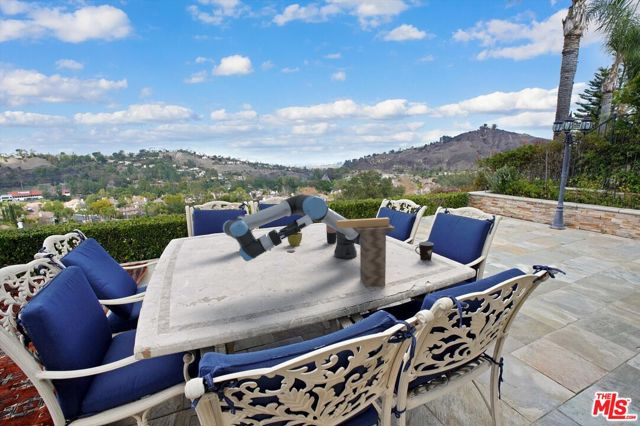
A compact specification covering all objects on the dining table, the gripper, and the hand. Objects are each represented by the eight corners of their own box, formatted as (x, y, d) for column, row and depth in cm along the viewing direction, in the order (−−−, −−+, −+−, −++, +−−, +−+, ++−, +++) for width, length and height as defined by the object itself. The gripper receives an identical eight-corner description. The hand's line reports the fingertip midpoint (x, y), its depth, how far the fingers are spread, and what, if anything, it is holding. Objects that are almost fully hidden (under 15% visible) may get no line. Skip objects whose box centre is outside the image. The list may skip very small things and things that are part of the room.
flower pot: (303, 244, 220) (302, 232, 218) (297, 247, 212) (296, 235, 210) (293, 243, 223) (292, 231, 222) (287, 246, 215) (286, 234, 214)
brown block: (337, 228, 138) (337, 221, 137) (336, 227, 141) (336, 220, 140) (389, 225, 141) (389, 218, 141) (387, 224, 144) (387, 217, 144)
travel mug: (326, 241, 225) (325, 216, 221) (335, 240, 225) (335, 216, 222) (327, 244, 217) (326, 218, 214) (337, 243, 218) (336, 218, 214)
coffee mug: (430, 256, 183) (431, 241, 181) (434, 261, 175) (435, 245, 173) (412, 256, 184) (412, 241, 183) (415, 261, 176) (415, 245, 174)
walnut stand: (358, 289, 140) (358, 229, 135) (352, 279, 152) (352, 224, 146) (393, 285, 142) (394, 227, 137) (384, 276, 154) (385, 222, 149)
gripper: (275, 241, 149) (311, 221, 151) (274, 252, 125) (317, 229, 126) (268, 228, 148) (304, 209, 150) (266, 238, 124) (309, 214, 125)
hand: (310, 218), depth 138 cm, fingers open, 13 cm apart
